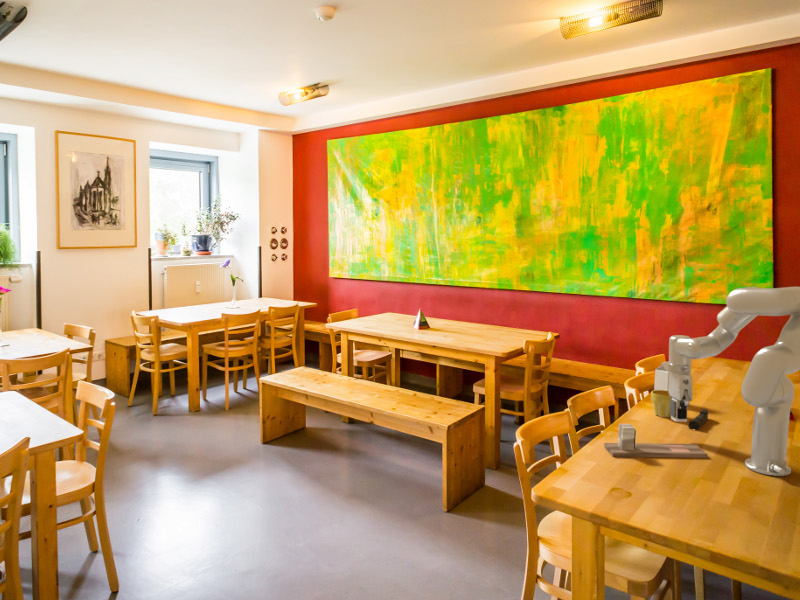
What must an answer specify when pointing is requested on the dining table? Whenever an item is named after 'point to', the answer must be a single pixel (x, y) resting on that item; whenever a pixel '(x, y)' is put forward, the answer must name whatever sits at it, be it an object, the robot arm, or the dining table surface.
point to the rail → (649, 447)
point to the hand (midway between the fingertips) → (679, 416)
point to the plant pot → (661, 402)
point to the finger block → (675, 410)
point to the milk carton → (662, 377)
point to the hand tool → (699, 420)
